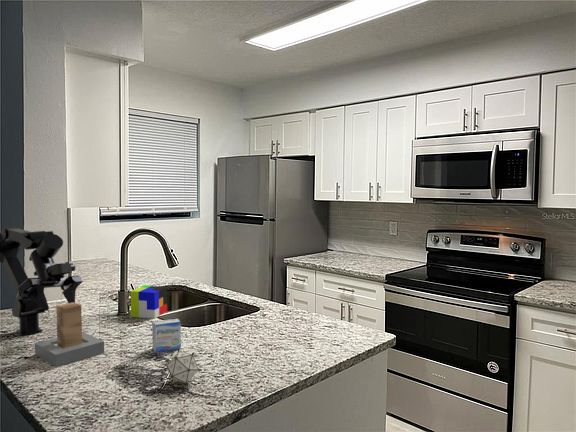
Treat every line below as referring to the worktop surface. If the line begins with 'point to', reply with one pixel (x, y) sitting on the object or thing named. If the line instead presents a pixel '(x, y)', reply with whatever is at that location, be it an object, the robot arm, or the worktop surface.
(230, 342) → the worktop surface
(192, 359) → the game die
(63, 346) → the post
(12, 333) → the worktop surface
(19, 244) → the robot arm
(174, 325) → the medicine box
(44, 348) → the base plate
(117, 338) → the worktop surface
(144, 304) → the puzzle toy
